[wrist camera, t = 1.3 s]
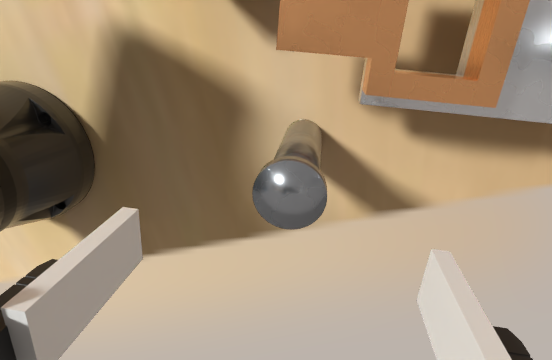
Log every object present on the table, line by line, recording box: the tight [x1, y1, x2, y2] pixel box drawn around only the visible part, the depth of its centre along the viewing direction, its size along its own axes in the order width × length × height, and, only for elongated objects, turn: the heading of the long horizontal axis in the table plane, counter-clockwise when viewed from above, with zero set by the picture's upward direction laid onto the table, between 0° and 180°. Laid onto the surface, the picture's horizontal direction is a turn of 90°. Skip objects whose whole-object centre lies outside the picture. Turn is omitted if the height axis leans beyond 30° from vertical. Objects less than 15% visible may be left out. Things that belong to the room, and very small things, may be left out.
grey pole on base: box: [276, 0, 552, 124], centre depth 19 cm, size 26×10×24 cm, turn 86°
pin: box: [253, 119, 327, 229], centre depth 28 cm, size 5×5×14 cm
